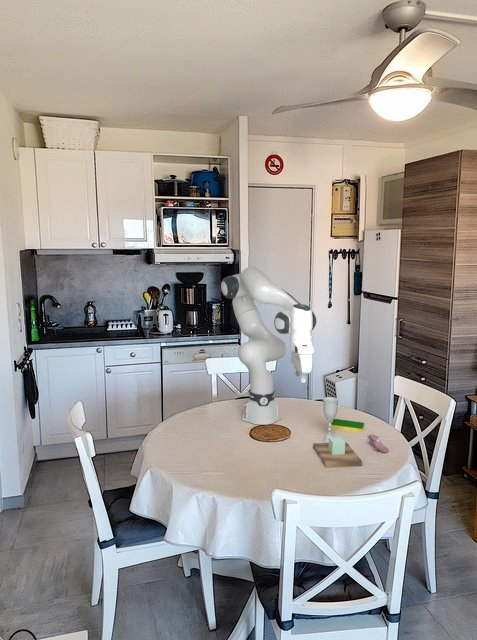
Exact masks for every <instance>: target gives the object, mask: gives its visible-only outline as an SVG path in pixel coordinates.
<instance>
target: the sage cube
mask: <svg viewBox="0 0 477 640" xmlns="http://www.w3.org/2000/svg"><path fill="white" fill-rule="evenodd" d="M345 442H346V441H345V440H344V438H343V437H341V436H334V437H329V448H328V449H329V451H330V452H331V454H332V455H337V454H345Z"/></svg>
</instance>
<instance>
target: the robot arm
mask: <svg viewBox="0 0 477 640" xmlns="http://www.w3.org/2000/svg"><path fill="white" fill-rule="evenodd" d="M220 290H221V293H222V295H223V296H224V297H225V298H226V299H232V302H231V304H232V308H233V313H234V316H235V318H236V320H237V323H238V325H239V328H240V330H241V332H242V334H243V335H245V337H248V338H250V339H251V340H249V341H246V342H244V343H242V344H240V345H239V346H238V350H237V357H238V360H239V361H240V362H241V364H243V365H244V366H245V367H246V369H247V370H248V375H249V381H250V382H249V384H250V387H249V388H250V389H249V393H248V399H247V402H246V403H245V402H244V403H243V413H242V415H241V416H242V417H241V421H242V422H248V423H250V424H254V425H260V426H261V425H265V426H266V425H272V424H274V423H276V422H277V421H280V420H282V417H281V416H280V415H279V414H278V413H279V411H278V402H277V401H276V400H275V396H276V395H275V390H274V387H275V386H274V385H275V382H274V381H275V380H274V379H275V378H274V374H273V373H272V372H271V371H270V370H268V369H267V365H266V364H267V363H269V362H275V361H278V360H280V359H282V358H283V357H285V355H286V352H287V346H286V343H285V342H284V340H283V339H281V338H279V337H277V336H276V335H275V334H273V333H272V331H271V330H270V329H269V328H268V327H267V326H266V324H265V323H264V321H263V319H262V316H261V315H260V312H259V310H258V307H257V305H256V304H255V302H257V303H259V304H263V305H273V306H279V307H281V308H283V309H285V310H282V311H279V312H277V313H276V315H275V316H274V321H273V322H274V323H273V324H274V328H275V330H276V331H277V332H278V333H279V334H280V335H281V334H282V335H289V350H290V351H291V352H290V362H291V363H292V364H293V367H294V375H295V376H296V377H300V378H299V379H300V382H301V383H307V382H306V379H307V376H308V375H309V374H311V372H312V370H313V369H312V368H313V355H314V354H315V348H314V346H313V335H312V334H313V333H312V332H313V330H314V329H315V327H316V325H317V317H316V315H315V312H313V310H312V307H310V306H309V305H307V304H302V303H301V302H299V300H297V299H296V298H295V297H293V296H292V295H291V294H290V293H289V292H287V291H286V290H284V289H283V288H281V287H280V286H278V285H277V284H276V283H274V282H273V281H271V279H270V278H268V277H267V274H266V275H265V273H264V272H262V271H261V270H260V269H259V268H258V267H255V266H247V267H246V268H244V269H243V270H242V271H241V272H240V273H236V274H233V275H228V276H226V277H224V278H222V280H221V283H220Z"/></svg>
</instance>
